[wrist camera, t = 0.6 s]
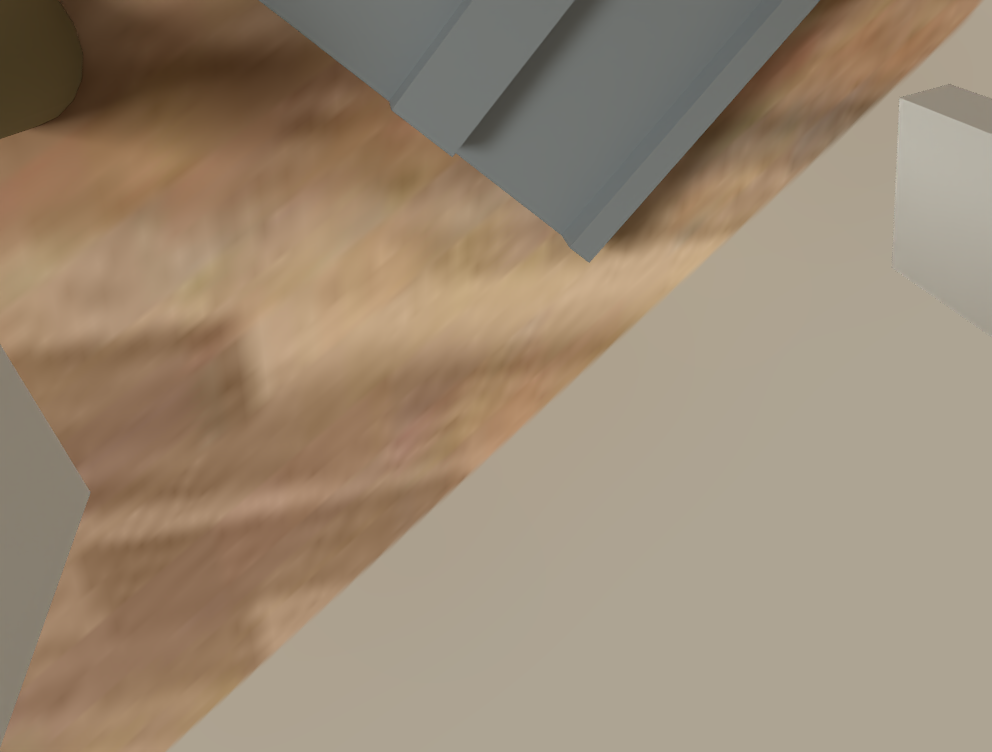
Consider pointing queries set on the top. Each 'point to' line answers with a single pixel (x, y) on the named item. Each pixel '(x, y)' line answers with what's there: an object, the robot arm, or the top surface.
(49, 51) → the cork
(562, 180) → the grey grooved stand
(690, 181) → the top surface
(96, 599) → the top surface
